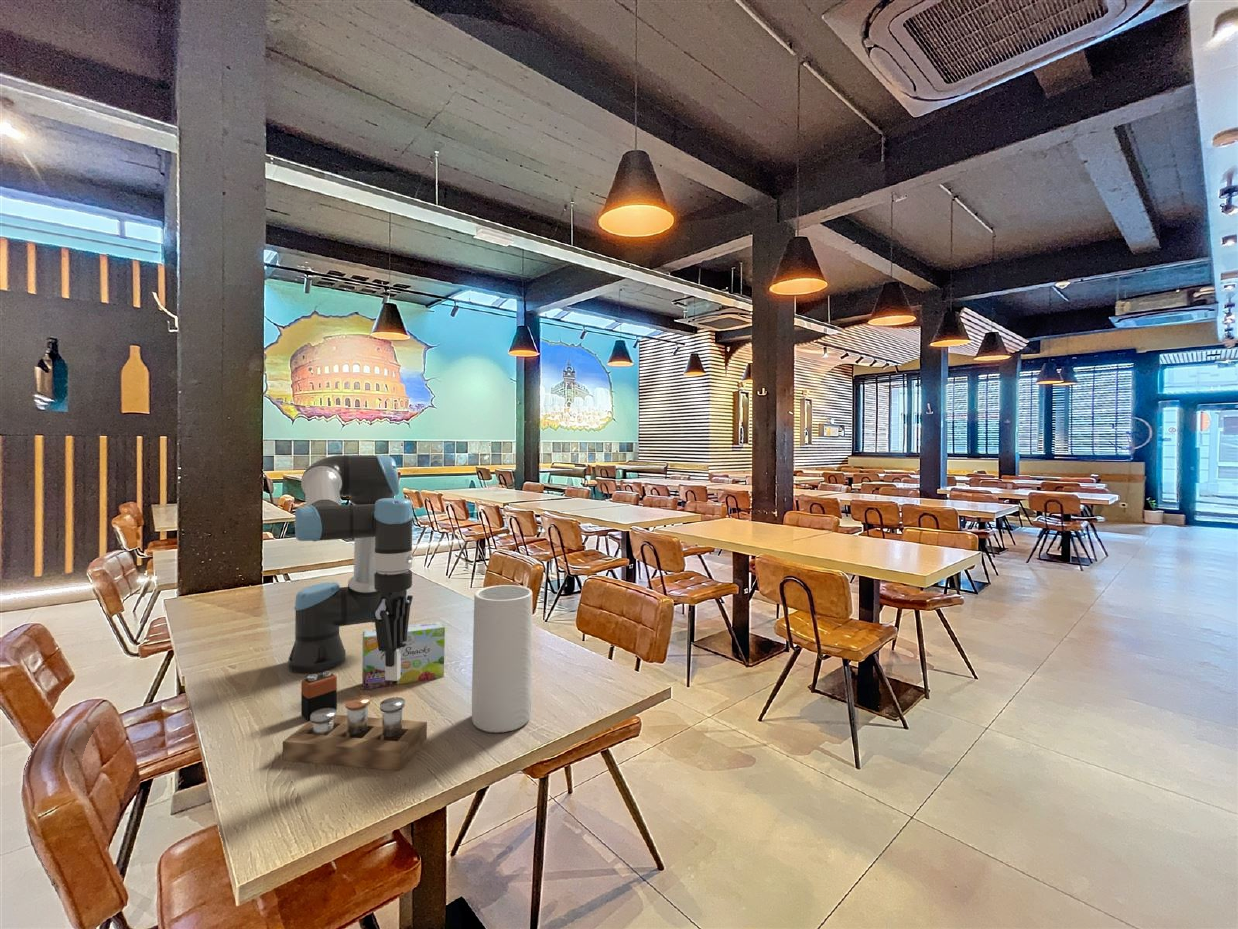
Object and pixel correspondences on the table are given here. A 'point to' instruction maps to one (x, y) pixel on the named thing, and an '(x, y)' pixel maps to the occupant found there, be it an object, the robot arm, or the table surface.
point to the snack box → (406, 656)
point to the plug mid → (357, 713)
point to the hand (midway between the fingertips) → (392, 678)
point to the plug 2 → (392, 716)
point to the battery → (318, 693)
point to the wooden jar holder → (356, 745)
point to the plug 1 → (323, 721)
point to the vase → (502, 658)
